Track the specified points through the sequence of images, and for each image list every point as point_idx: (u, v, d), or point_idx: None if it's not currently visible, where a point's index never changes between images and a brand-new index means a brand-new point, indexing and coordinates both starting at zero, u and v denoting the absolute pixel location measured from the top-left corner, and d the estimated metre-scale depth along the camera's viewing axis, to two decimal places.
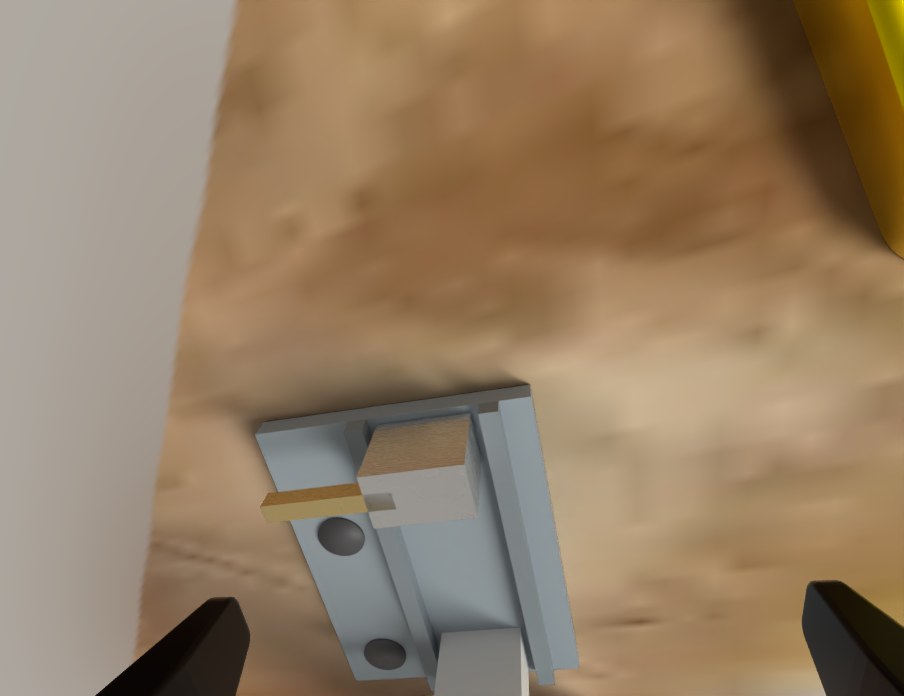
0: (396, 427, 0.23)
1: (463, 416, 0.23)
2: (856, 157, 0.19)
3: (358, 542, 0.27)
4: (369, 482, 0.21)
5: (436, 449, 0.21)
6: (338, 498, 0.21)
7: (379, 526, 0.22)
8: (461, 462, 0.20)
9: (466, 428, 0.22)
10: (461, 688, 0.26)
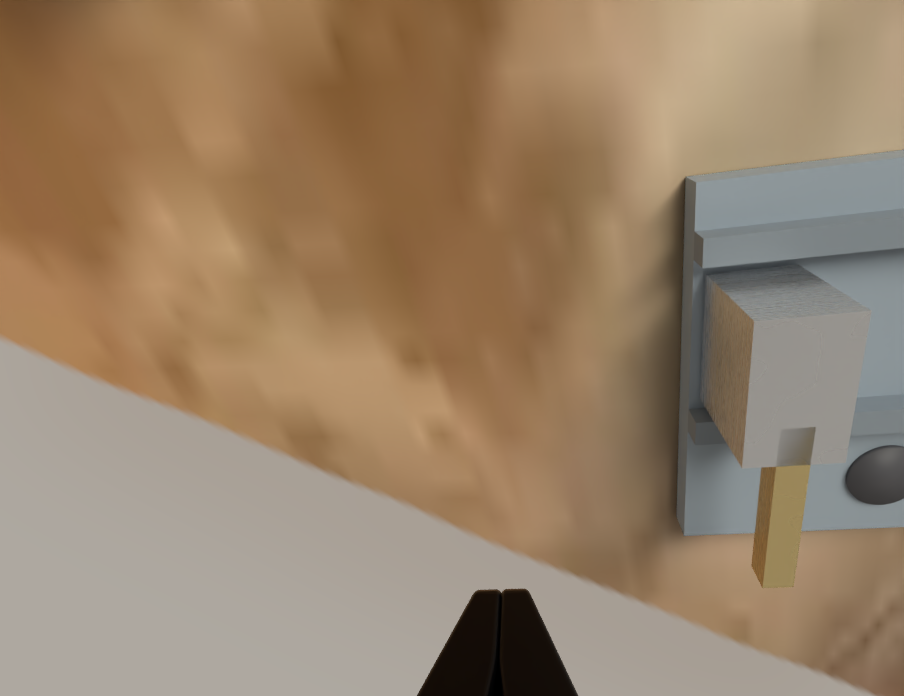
0: (705, 377, 0.17)
1: (707, 285, 0.16)
2: None
3: (903, 456, 0.18)
4: (755, 454, 0.14)
5: (732, 347, 0.14)
6: (773, 496, 0.15)
7: (844, 454, 0.14)
8: (751, 323, 0.13)
9: (719, 290, 0.15)
10: None
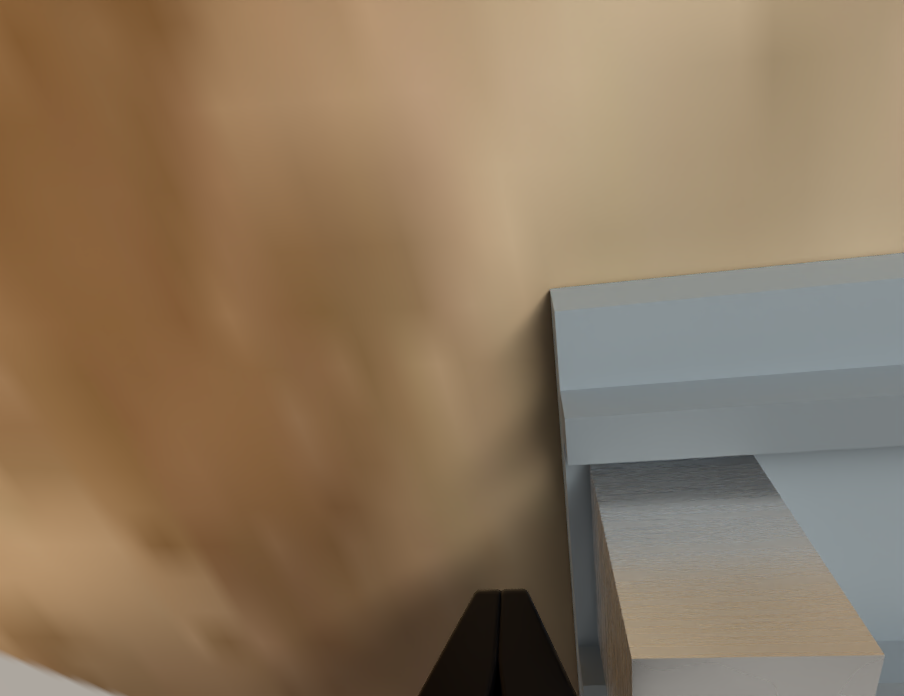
0: (598, 617, 0.10)
1: (591, 481, 0.09)
2: None
3: None
4: None
5: (616, 640, 0.07)
6: None
7: None
8: (629, 654, 0.06)
9: (600, 513, 0.08)
10: None
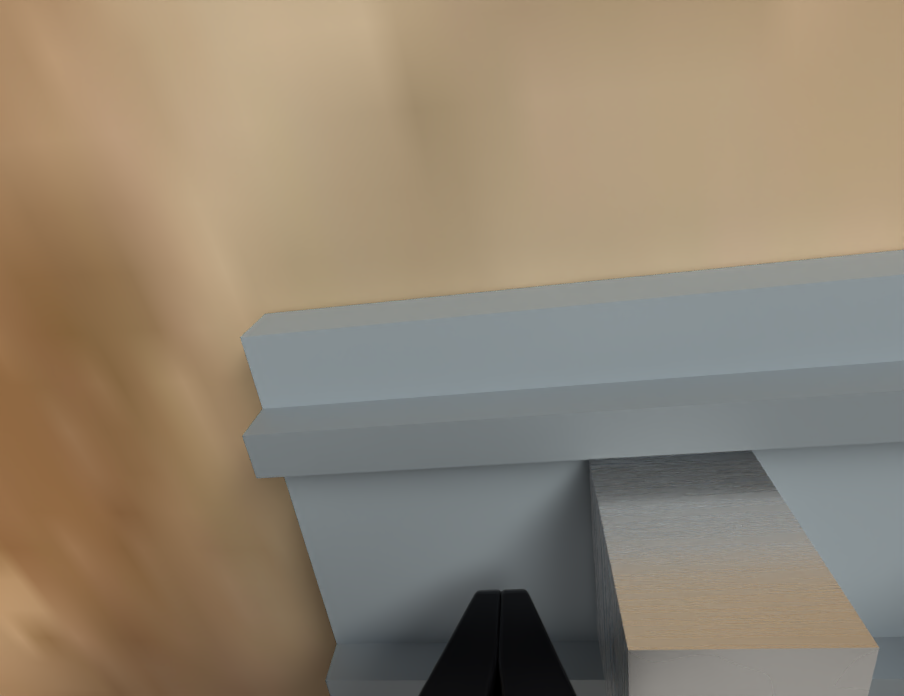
0: (598, 612, 0.10)
1: (590, 477, 0.09)
2: None
3: None
4: None
5: (613, 634, 0.07)
6: None
7: None
8: (625, 645, 0.06)
9: (598, 507, 0.08)
10: None
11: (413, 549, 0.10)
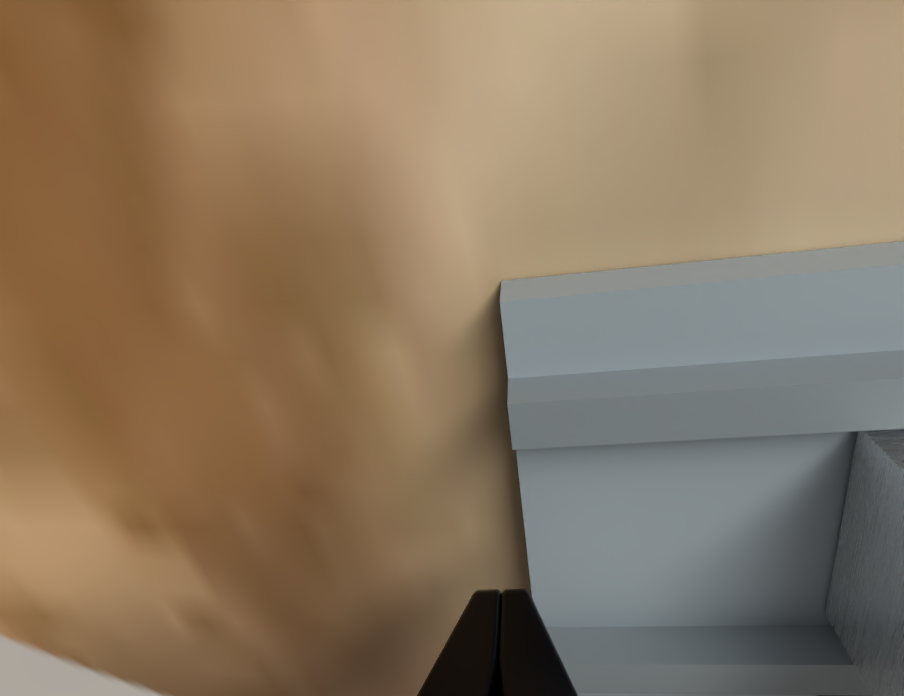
0: (843, 593, 0.10)
1: (864, 450, 0.09)
2: None
3: None
4: None
5: None
6: None
7: None
8: None
9: None
10: None
11: (641, 527, 0.10)
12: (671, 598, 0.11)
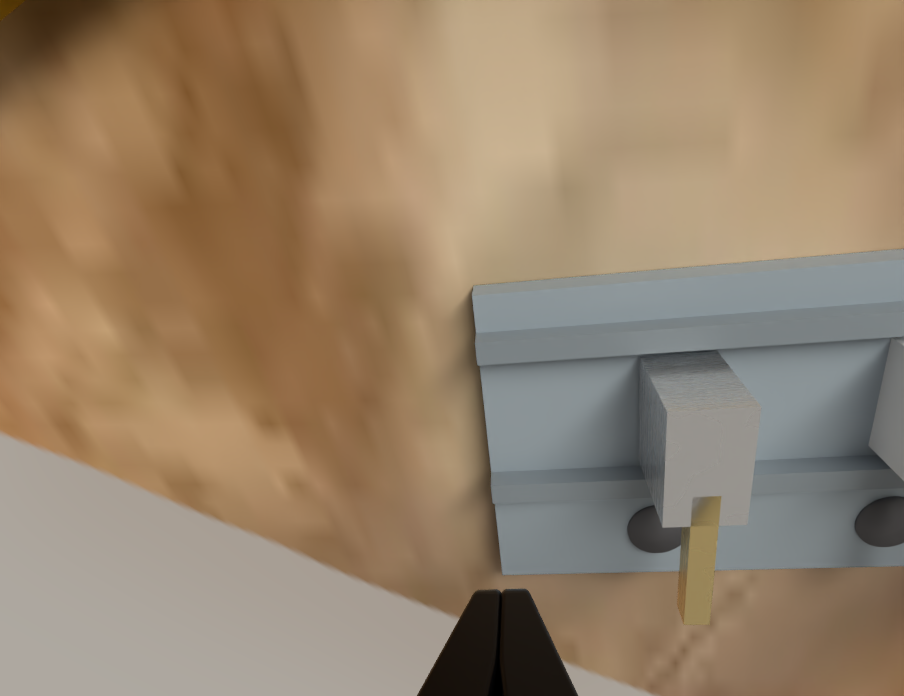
0: (640, 442, 0.20)
1: (641, 366, 0.19)
2: None
3: None
4: (672, 516, 0.17)
5: (656, 425, 0.17)
6: (689, 550, 0.17)
7: (746, 518, 0.17)
8: (665, 413, 0.16)
9: (647, 375, 0.18)
10: None
11: (543, 411, 0.20)
12: (561, 452, 0.21)
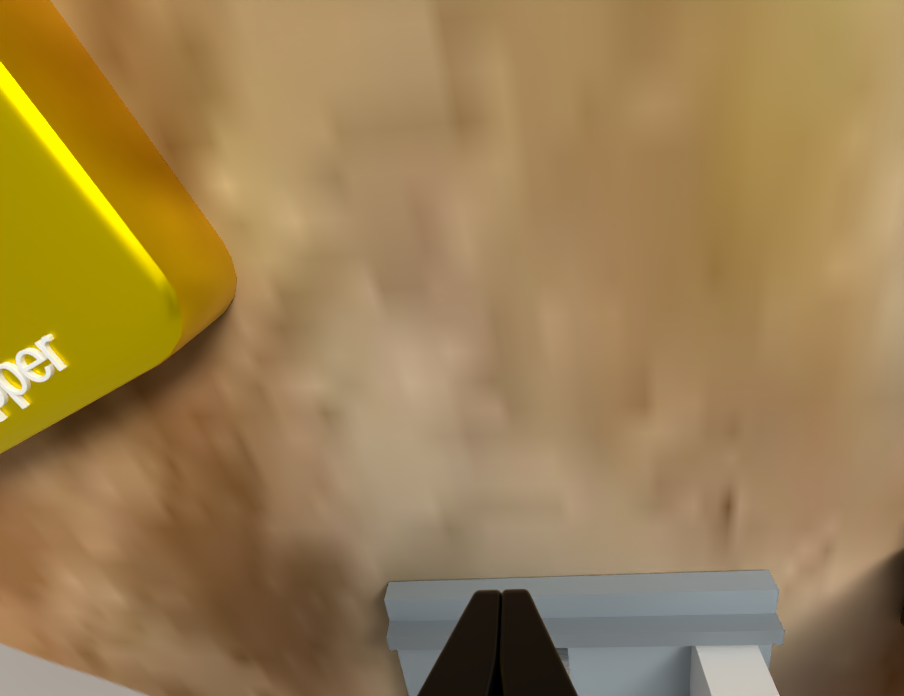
0: None
1: None
2: None
3: None
4: None
5: None
6: None
7: None
8: None
9: None
10: None
11: None
12: None
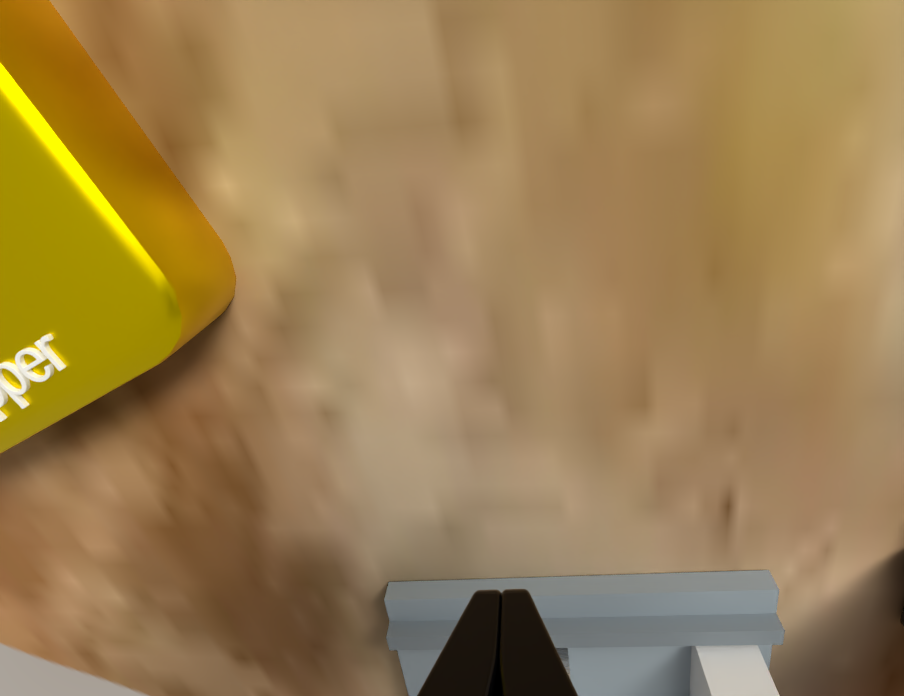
0: None
1: None
2: None
3: None
4: None
5: None
6: None
7: None
8: None
9: None
10: None
11: None
12: None
